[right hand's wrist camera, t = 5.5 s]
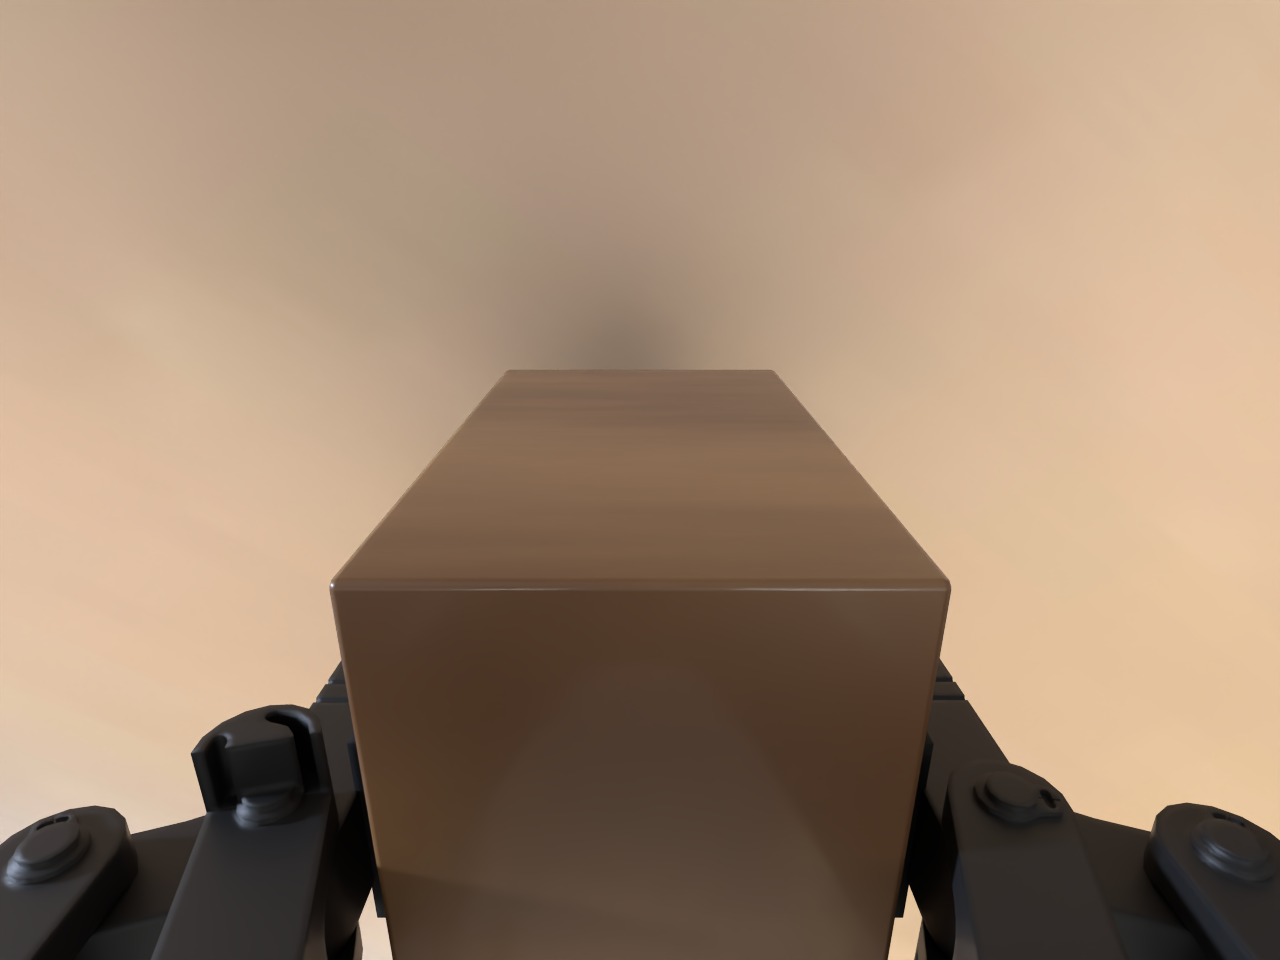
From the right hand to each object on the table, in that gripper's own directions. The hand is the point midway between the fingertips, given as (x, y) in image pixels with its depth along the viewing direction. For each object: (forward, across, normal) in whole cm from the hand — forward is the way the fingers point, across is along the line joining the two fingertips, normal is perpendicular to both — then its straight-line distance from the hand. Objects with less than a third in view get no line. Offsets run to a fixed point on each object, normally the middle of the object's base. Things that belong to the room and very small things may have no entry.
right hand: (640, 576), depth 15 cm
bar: (+1, 0, -8) cm, 8 cm away
